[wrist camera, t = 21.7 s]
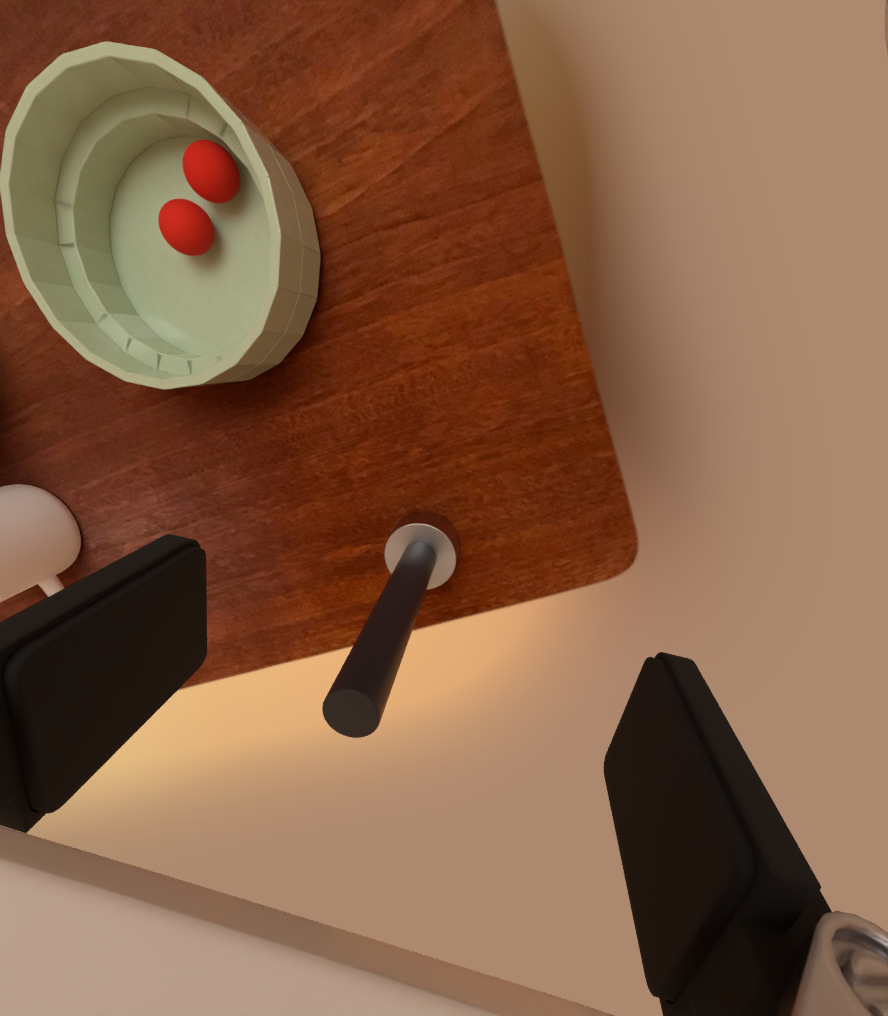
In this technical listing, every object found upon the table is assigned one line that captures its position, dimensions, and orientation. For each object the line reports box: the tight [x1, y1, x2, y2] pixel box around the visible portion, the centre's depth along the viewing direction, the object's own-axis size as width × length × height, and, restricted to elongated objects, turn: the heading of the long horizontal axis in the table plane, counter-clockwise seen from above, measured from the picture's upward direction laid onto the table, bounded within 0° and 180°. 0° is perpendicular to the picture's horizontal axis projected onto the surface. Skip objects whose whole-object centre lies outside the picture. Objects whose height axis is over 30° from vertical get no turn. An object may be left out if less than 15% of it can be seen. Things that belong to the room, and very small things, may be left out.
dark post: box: [323, 512, 460, 738], centre depth 26 cm, size 5×5×18 cm
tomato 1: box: [183, 140, 240, 203], centre depth 27 cm, size 3×3×3 cm
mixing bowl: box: [0, 42, 321, 390], centre depth 27 cm, size 16×16×6 cm
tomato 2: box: [158, 199, 215, 256], centre depth 28 cm, size 3×3×3 cm
